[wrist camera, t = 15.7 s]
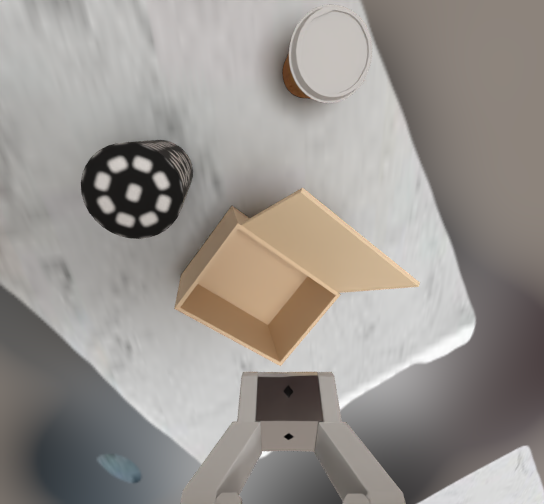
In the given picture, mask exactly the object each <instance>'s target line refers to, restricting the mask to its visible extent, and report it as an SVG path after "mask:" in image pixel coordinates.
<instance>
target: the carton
mask: <svg viewBox="0 0 544 504" xmlns="http://www.w3.org/2000/svg"><path fill="white" fill-rule="evenodd" d="M248 219H249V217H247V216H246V215H244V214H243V213H242V212H240V211H239V210H237V209H236V208H235V207H233V206H231V207H230V209H229V210H228V212H227V213H226V214H225V216H224V217H223V218H222V220H221V221H220V223H219V224H218V225H217V227H216V228H215V229H214V231H213V232H212V233H211V235H210V236H209V238H208V239H207V240H206V242H205V243H204V244H203V246H202V247H201V248H200V250H199V251H198V253H197V254H196V255H195V257H194V258H193V259H192V261H191V262H190V264H189V265H188V266H187V268H186V269H185V270H184V272H183V273H182V274H181V277H180V283H179V288H178V293H177V298H176V303H175V308H174V309H176V310H178V311H180V312H182V313H183V314H185V315H187V316H189V317H191V318H193V319H195V320H196V321H198V322H200V323H202V324H204V325H206V326H207V327H209V328H211V329H213V330H215V331H217V332H219V333H220V334H222V335H224V336H226V337H228V338H230V339H232V340H233V341H235V342H237V343H239V344H241V345H243V346H244V347H246V348H248V349H250V350H252V351H254V352H256V353H257V354H259V355H261V356H263V357H265V358H267V359H269V360H270V361H272V362H274V363H276V364H278V365H280V366H281V365H282V364H283V362H284V361H285V360H286V359H287V358H288V357H289V355H290V354H291V353H292V352H293V351H294V349H295V348H296V347H297V346H298V345H299V343H300V342H301V341H302V340H303V339H304V338H305V336H306V335H307V334H308V333H309V332H310V330H311V329H312V328H313V327H314V326H315V324H316V323H317V322H318V321H319V320H320V318H321V317H322V316H323V315H324V314H325V313H326V311H327V310H328V309H329V308H330V307H331V305H332V304H333V303H334V302H335V301H336V299H337V298H338V297H339V296H340V295H341V294H340V293H338V292H336V291H335V290H333V289H332V288H331V287H329V286H328V285H326V284H325V283H323V282H322V281H321V280H319V279H318V278H316V277H315V276H313V275H312V274H311V273H309V272H308V271H306V270H305V269H303V268H302V267H300V266H299V265H298V264H296V263H295V262H293V261H292V260H290V259H289V258H288V257H286V256H285V255H283V254H282V253H280V252H279V251H277V250H276V249H275V248H273V247H272V246H270V245H269V244H267V243H266V242H265V241H263V240H262V239H260V238H259V237H257V236H256V235H254V234H253V233H252V232H250V231H249V230H247V229H246V228H244V227H243V226H242V223H243V222H244V221H246V220H248Z"/></svg>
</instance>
